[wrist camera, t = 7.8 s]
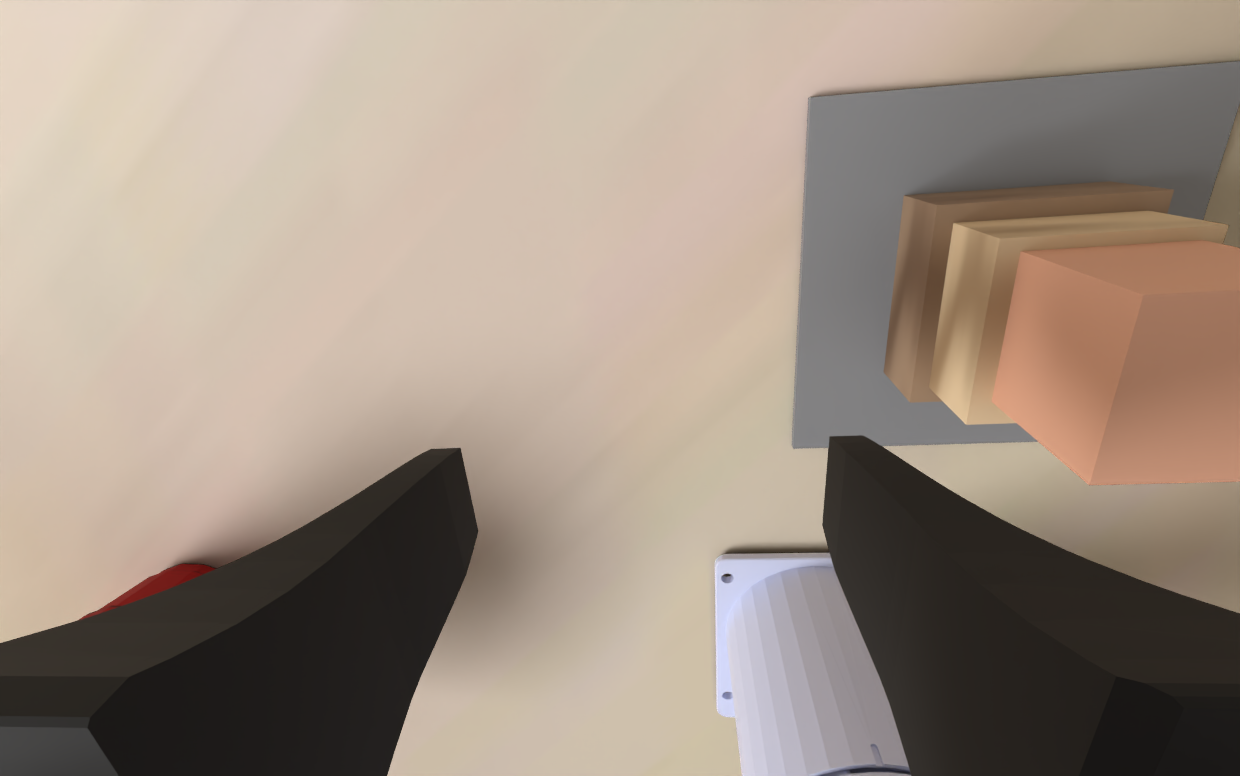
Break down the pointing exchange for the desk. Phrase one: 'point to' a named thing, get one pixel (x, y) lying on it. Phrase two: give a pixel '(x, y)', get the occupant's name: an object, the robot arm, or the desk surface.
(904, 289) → the tower base
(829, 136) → the mat
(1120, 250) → the cube
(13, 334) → the desk surface
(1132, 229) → the tower middle
